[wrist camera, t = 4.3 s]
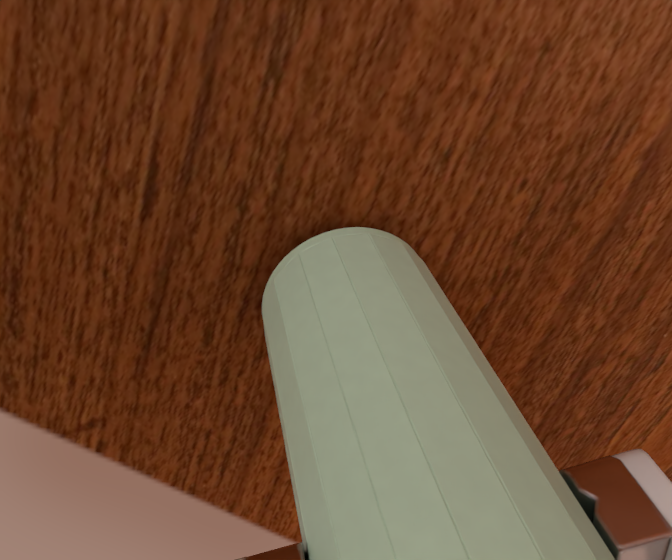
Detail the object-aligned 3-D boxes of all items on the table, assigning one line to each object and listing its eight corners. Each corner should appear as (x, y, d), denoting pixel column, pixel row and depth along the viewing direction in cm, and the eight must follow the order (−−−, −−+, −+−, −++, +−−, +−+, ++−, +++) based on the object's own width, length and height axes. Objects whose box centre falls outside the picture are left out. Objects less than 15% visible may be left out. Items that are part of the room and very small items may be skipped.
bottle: (239, 352, 16) (343, 1200, 6) (296, 206, 14) (615, 1100, 4) (385, 377, 18) (672, 1068, 8) (455, 249, 16) (982, 951, 6)
